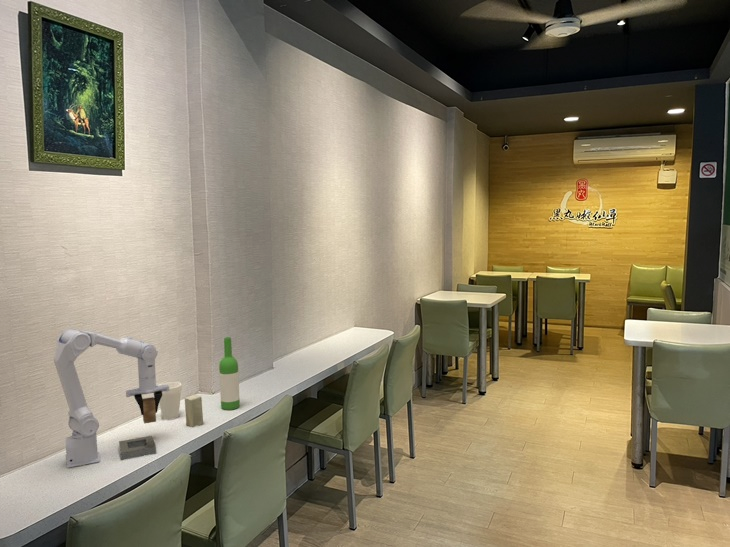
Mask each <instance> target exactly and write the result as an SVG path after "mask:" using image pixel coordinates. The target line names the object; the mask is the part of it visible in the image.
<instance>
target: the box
mask: <svg viewBox="0 0 730 547" xmlns="http://www.w3.org/2000/svg"><path fill="white" fill-rule="evenodd" d="M184 408H185V409H184V410H185V422H186V423H185V424H186V426H188V427H190V428H194V427H198V426H200V425H202V424H204V416H203V414H204V413H203V398H202V396H201V395H197V394H192V395H190V396H187V397H184Z"/></svg>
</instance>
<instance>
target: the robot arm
mask: <svg viewBox="0 0 730 547" xmlns="http://www.w3.org/2000/svg"><path fill="white" fill-rule="evenodd" d="M56 344H57V346H56V350H55V354H54V359H53V361H54V362H53V363H54V366H55V369H56V371H57V375H58V378H59V380H60V384H61V387H62V390H63V393H64V397H65V400H66V402H67V405H68V408H69V411H68V412H67V415H68V424H67V425H68V427H69V429H70V430H71V431H72V433H71V435H69V436H67V437H65V453H66V454H65V461H66V467H67V468H69V469H70V468H74V467H79V466H84V465H90V464H95V463H99V462H100V452H99V451H98V440H97V439H98V438H97V437H98V436H97V432H98V430H99V427H100V423H99V421H98V419H97V418H96V417H95V416H94V414H93V411H92V410H91V409H90V408H89V406H88V403H87V401H86V398H85V394H84V391H83V388H82V385H81V382H80V378H79V375H78V373H77V370H76V365H75V361H76V360H77V358H78V357H79V356H80V355H81V354H83V353H84V352H85V351H86V350H88V348H89V347H91V348H92V347H94V346H96V345H99V346H102V347H103V346H104V347H108V348H113V349H116V351H117V353H118V354H120V355H124V356H128V357H132V358H136V359H137V369H138V370H137V371H138V372H137V373H138V388H137V387H136V388H133V389H128V390H125V396H126V398H130V397H134V399H135V401H136V403H137V405H138V407H139V410H140V414H141V416H143V415H144V412H143V399H144V398H143V396H144V395H147V394H153V397H154V399H155V410H156V414H157V413H158V408H159V406H160V403H159V402H160V399H161V397H162V392H163V391H169V385H160V384H158V385H159V386H158V385H157V378H156V376H157V374H156V358H157V356H158V353H159V352H158V350H157V348H156V346H155V345H154V344H150V343H146V342H145V341H144V340H139V341H138V340H136V339H133V337H131V336H127V337H122V338H120V339H117V338H114V337H111V336H108V335H104V334H101V333H96V332H93V331H89V330H87V331H86V330H82V329H81V330H76V329H74V328H68V329H66V330H65V329H64V331H63V332H62V333H61V334H60V335H59V336H58V337H57V339H56Z"/></svg>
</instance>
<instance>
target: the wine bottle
mask: <svg viewBox="0 0 730 547" xmlns="http://www.w3.org/2000/svg"><path fill="white" fill-rule="evenodd" d="M223 344H224V345H223V346H224V347H223V349H224V357H223V358H221V360H220V362H219V365H218V366H219V390H220V392H219V394H220V407H221V409H223V410H226V411H227V410H228V411H230V410H231V411H232V410H236V409H237V408H239V407H240V404H241V402H240V381H239V379H240V378H239V363H238V360H237V359H236V358H235V357H234V356H233V353H232V352H233V351H232V338H231V337H223Z"/></svg>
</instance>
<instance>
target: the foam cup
mask: <svg viewBox="0 0 730 547" xmlns="http://www.w3.org/2000/svg"><path fill="white" fill-rule="evenodd" d="M159 385H169V391H163V392H162V397H161V399H160V402H159V406H160V411H161V413H160V414H161V417H162V419H163V420H172V419H173V420H174V419H177V418H179V417H180V407H181V395H182V383H181V382H179V381H169V382H168V381H167V382H163V383H160V384H158V385H157V386H159Z"/></svg>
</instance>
